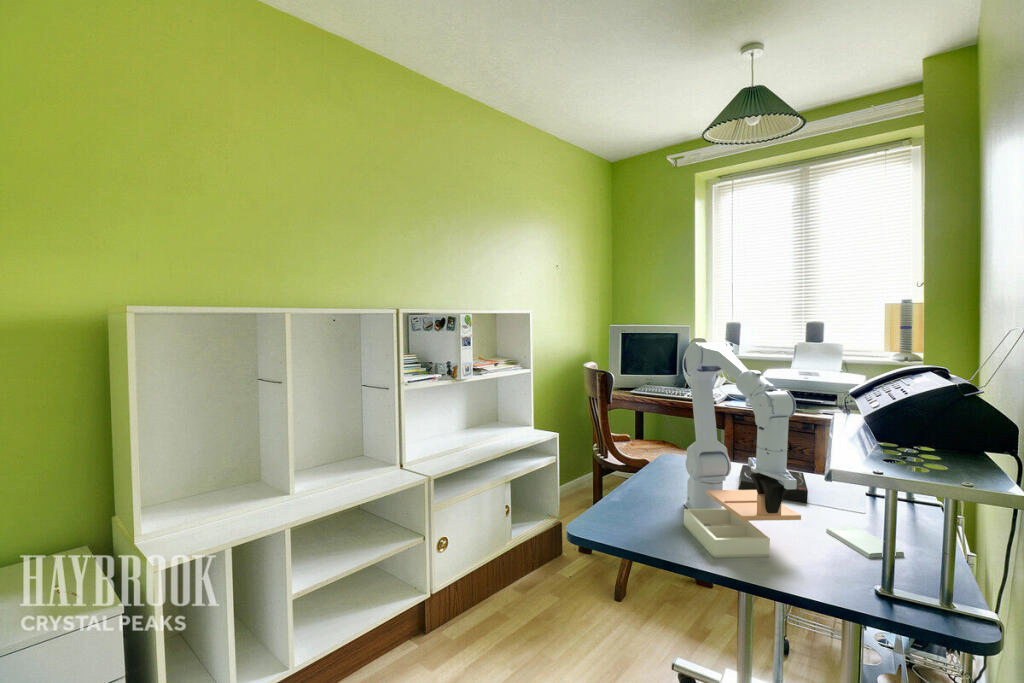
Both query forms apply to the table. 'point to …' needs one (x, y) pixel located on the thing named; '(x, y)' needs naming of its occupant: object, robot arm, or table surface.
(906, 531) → the table surface
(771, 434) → the robot arm
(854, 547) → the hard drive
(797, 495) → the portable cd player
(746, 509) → the lid
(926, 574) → the table surface
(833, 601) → the table surface
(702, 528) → the tub
